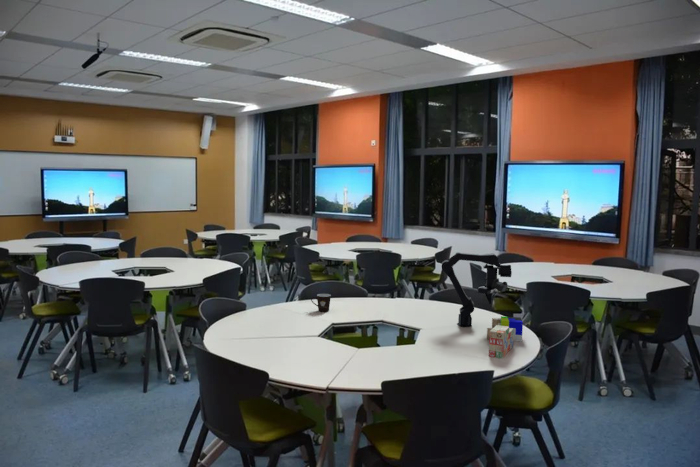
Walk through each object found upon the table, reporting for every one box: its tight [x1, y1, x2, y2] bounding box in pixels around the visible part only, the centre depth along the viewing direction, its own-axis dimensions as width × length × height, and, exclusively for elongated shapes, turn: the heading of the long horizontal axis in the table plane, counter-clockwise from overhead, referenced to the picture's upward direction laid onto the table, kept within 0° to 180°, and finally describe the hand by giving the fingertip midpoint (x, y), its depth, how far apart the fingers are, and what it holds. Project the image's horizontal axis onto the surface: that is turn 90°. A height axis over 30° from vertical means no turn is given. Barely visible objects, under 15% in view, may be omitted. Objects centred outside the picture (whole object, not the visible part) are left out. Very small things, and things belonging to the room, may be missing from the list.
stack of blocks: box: [488, 325, 514, 359], centre depth 251 cm, size 21×6×12 cm, turn 150°
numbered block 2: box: [486, 327, 493, 341], centre depth 268 cm, size 5×5×6 cm
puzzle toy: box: [500, 315, 524, 342], centre depth 273 cm, size 10×10×10 cm
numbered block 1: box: [491, 317, 501, 328], centre depth 289 cm, size 5×5×6 cm
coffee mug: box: [310, 293, 332, 313], centre depth 328 cm, size 12×9×10 cm
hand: (490, 304), depth 294 cm, fingers closed
